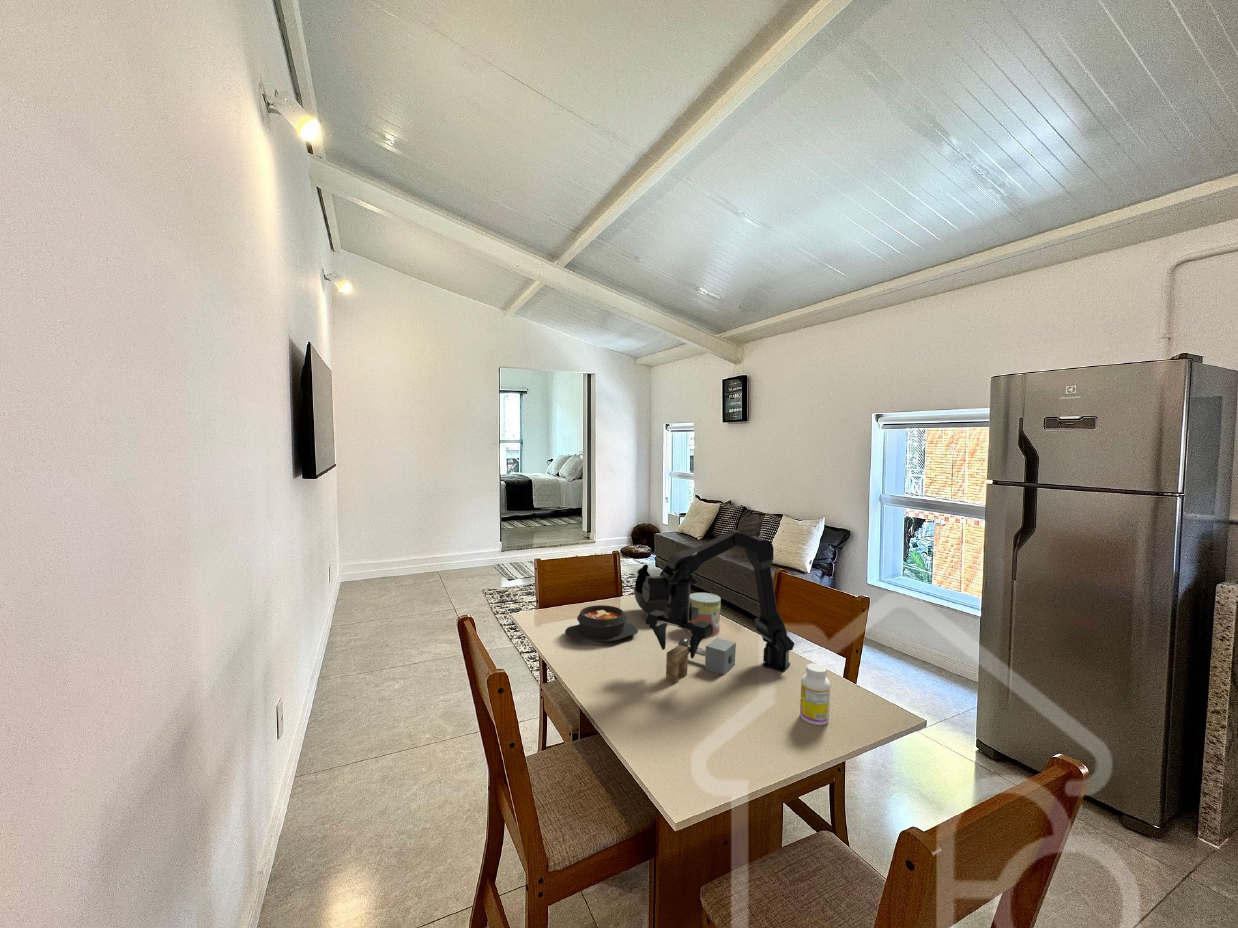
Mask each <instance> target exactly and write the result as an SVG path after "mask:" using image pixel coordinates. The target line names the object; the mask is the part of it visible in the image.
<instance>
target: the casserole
mask: <svg viewBox="0 0 1238 928" xmlns="http://www.w3.org/2000/svg"><path fill="white" fill-rule="evenodd" d="M576 620H577V621H578V623H579V624H575V625H570V626H568V627H567V628H566V629H565V630H564V633H565V635H566V637H568V638H570V639H571V640H574V641H587V642H588V641H589V642H595V643H609V642H616V641H619V640H622V639H624V638H627V637H632V636H635V635H636V634H638V632H639V629H638V627H636V626H635V625H633V623H630V622H627V621H628V617H627V616H626V613H625V612H624V610H623V609H622V608H620V607H616V606H612V605H606V604H605V605H602V604H599V605H591V606H587V607H584V608H581V610H580V612H579V614H578V616H577V617H576Z"/></svg>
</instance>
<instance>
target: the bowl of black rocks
mask: <svg viewBox="0 0 1238 928" xmlns="http://www.w3.org/2000/svg"><path fill="white" fill-rule="evenodd" d="M648 569H649V565H648V564H645V563H644V565H642V567H641V568H639V569H638V570H637V577H636V580H635V584H634V585H635V586H634V588H633V594H634V598H635V601H636V603H637V605H638V606H639V607H640V609H641V610H642V611H643V612H645V613H646V615H648V614H649V613H651V612H653V611H655V610H659V611H663V612H666V613H667V617H669V607H667V603H669V599H667V600H666V601H654V602H645V600H644V598H643V593H642V586H643V584H644V582H645V581H646V576H651V575H650V573H649V572H648ZM670 574H672V575H674V573H673V572H672V573H670Z"/></svg>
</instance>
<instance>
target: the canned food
mask: <svg viewBox="0 0 1238 928" xmlns="http://www.w3.org/2000/svg"><path fill="white" fill-rule="evenodd" d="M721 599H722V598H721V597H720V595H717V594H714V593H711V592H710V593H709V592H693V593H690V602H692V607H695V608H699V612H698V617H697V619H694V618H693V620H692V621H689V623H693V624H695V623H697V622H699V621H703V622H707V623H711V625H712V626H713V634H711V635H710V636H708V637H707V638H710V637H715V636H718V635H719V634H720V632H721V630H720V629H721V627H720V625H721V624H720V623H721ZM687 631H688V632H689V633H690V634H691V630H688V629H687Z"/></svg>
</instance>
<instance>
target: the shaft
mask: <svg viewBox="0 0 1238 928" xmlns="http://www.w3.org/2000/svg"><path fill="white" fill-rule="evenodd" d="M678 645H681V646H685V647H688V655H689V654H690V639H688V638H685V637H682V638H681V639H680V640H679V642H678ZM695 655H698V656H702V657H706V648H702V647H698V648H697V651H696V653H695Z"/></svg>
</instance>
